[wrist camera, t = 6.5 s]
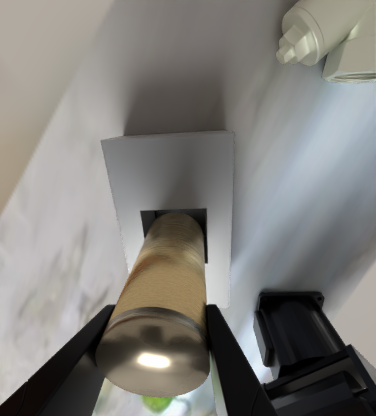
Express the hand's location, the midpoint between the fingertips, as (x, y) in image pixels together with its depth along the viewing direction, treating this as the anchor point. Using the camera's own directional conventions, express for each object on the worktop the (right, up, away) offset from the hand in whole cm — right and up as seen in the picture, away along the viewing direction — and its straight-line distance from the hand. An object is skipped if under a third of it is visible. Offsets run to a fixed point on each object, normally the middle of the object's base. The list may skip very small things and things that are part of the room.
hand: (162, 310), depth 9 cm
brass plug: (0, +3, +6) cm, 6 cm away
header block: (0, +4, +9) cm, 10 cm away
